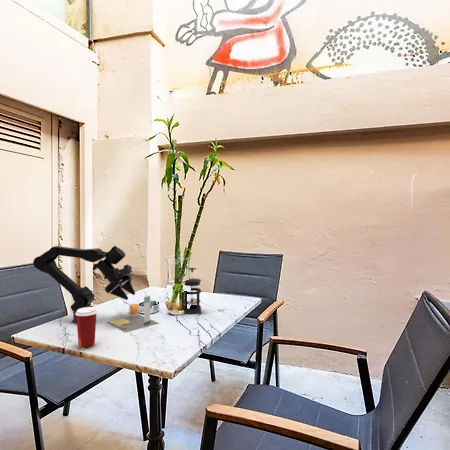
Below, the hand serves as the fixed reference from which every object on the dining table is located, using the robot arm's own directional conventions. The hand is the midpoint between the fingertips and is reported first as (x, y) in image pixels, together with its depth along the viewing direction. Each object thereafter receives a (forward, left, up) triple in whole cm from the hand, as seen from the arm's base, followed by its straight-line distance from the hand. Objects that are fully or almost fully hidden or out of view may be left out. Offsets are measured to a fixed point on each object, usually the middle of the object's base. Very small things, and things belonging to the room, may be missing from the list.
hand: (131, 296), depth 156 cm
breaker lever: (+4, -7, -11) cm, 14 cm away
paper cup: (-26, -12, -12) cm, 31 cm away
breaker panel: (-1, -2, -12) cm, 12 cm away
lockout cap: (+7, +10, -12) cm, 18 cm away
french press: (+29, -7, -12) cm, 33 cm away
